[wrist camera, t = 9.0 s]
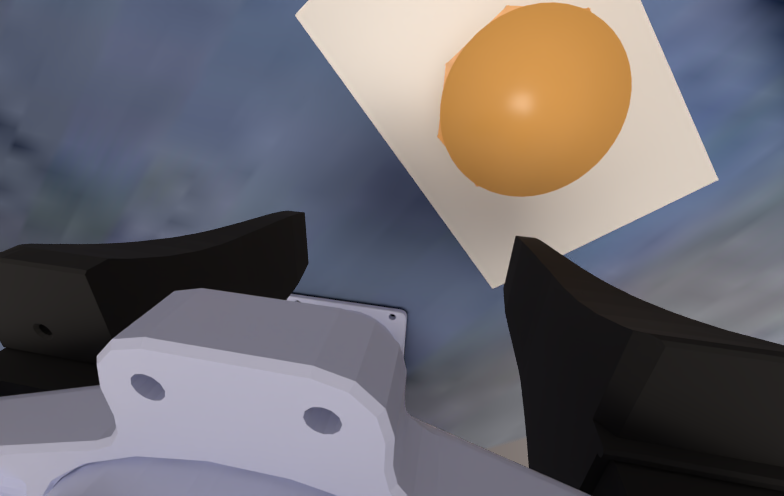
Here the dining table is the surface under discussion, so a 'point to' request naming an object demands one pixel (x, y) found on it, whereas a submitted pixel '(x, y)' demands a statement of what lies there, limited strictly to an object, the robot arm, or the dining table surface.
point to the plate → (432, 161)
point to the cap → (535, 99)
